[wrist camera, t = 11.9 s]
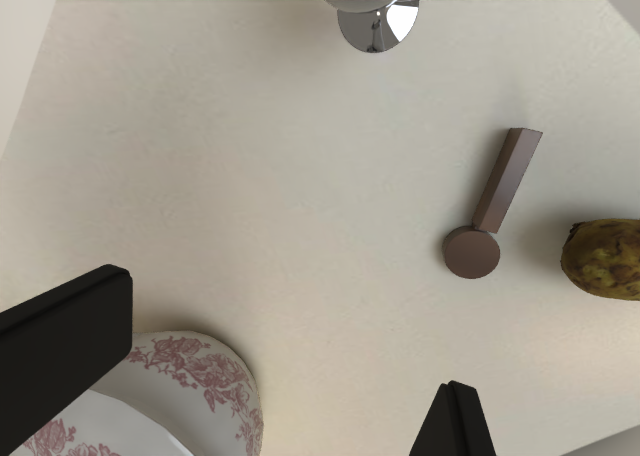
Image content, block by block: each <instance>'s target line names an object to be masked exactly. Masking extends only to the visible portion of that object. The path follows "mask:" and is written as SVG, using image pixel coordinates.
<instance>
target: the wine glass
mask: <svg viewBox="0 0 640 456" xmlns="http://www.w3.org/2000/svg"><path fill="white" fill-rule="evenodd" d="M324 1H325V2H327V3H328V4H330V5H331V6H333V7H335V8H336V9H338V20H339V25H340V28H341V31H342V33H343V35H344V37H345V38H346V39H347V41H348V42H349V43H350V44H351V45H352V46H354V47H355V48H357V49H359V50H361V51H364V52H369V53H377V52H382V51H386V50H388V49H390V48H393V47H394V46H395V45H397V44H398V43H400V42H401V41H402V40H403V39H404V38H405V37H406V35H407V34H408V33H409V31H410V30H411V28H412V26H413V24H414V22H415V19H416V17H417V12H418V8H419V0H324Z"/></svg>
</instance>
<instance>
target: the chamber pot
mask: <svg viewBox="0 0 640 456" xmlns="http://www.w3.org/2000/svg"><path fill="white" fill-rule="evenodd" d="M263 428H264V423H263V416H262V410H261V404H260V398H259V394H258V390H257V386H256V382H255V380H254V378H253V376H252V375H251V373H250V371H249V370H248V368H247V366H246V365H245V363H244V361H243V360H242V359H241V358H240V357H239V356H238V355H237V354H236V353H235V352H234V351H233V350H232V349H231V348H230V347H228V346H227V345H225V344H223V343H222V342H220V341H218V340H217V339H215V338H213V337H211V336H208V335H204V334H201V333H197V332H194V331H190V330H176V331H162V332H151V333H132V349H131V351H130V353H129V354H128V356H127V357H126V358H125V359H123V360H122V361H121V362H120V363H119V364H117V365H116V366H115V367H114V368H113V369H111V370H110V371H109V372H108V373H107V374H106V375H104V376H103V377H102V378H101V379H100V380H98V381H97V382H96V383H95V384H94V385H92V386H91V387H90V388H89V389H88V390H86V391H85V392H84V393H83V394H82V395H80V396H79V397H78V398H77V399H76V400H74V401H73V402H72V403H71V404H70V405H69V406H67V407H66V408H65V409H64V410H63V411H61V412H60V413H59V414H58V415H57V416H55V417H54V418H53V419H52V420H51V421H49V422H48V423H47V424H46V425H45V426H43V427H42V428H41V429H40V430H39V431H37V432H36V433H35V434H34V435H33V436H31V437H30V438H29V439H28V440H27V441H26V442H24V443H23V444H22V445H21V446H20V447H18V448H17V449H16V450H15V451H14V452H12V453H11V454H10V455H9V456H260V451H261V446H262V438H263Z"/></svg>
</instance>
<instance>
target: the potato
mask: <svg viewBox="0 0 640 456" xmlns="http://www.w3.org/2000/svg"><path fill="white" fill-rule="evenodd" d="M572 226H573V228H572V229H571V230H570V233H571V234H570V235H569V236H568V238H567V241H566V243H565V245H564V247H563V252H562V257H561V261H560V262H561V267H562V270H563V271H564V272H565V274H566V275H567V277H568V278H569V279H570V280H571V281H572V282H573V283H574V284H575V285H576V286H577V287H579V288H580V289H582V290H584V291H586V292H587V293H590V294H593V295H596V296H600V297H605V298H613V299H622V300H632V301H640V220H632V219H602V220H595V221H591V222H586V221H585V222H581V223H576V224H573V225H572Z"/></svg>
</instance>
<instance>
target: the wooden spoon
mask: <svg viewBox="0 0 640 456" xmlns="http://www.w3.org/2000/svg"><path fill="white" fill-rule="evenodd" d="M542 134H543V133H542V132H539V131H534V130H530V129H526V128H511V129H510V131H509V133H508V135H507V138H506V140H505V142H504V145H503V147H502V150H501V152H500V154H499V157H498V159H497V161H496V164H495V166H494V168H493V171H492V173H491V176H490V178H489V180H488V183H487V185H486V187H485V190H484V192H483V194H482V197H481V199H480V202H479V204H478V206H477V209H476V211H475V213H474V216H473V218H472V221H473V223H472V226H464V227H460V228H458V229H456V230H454V231H452V232H451V233H450V234H449V235H448V236H447V237H446V239H445V240H444V243H443V246H442V253H443V257H444V260H445V263H446V265H447V267H448V268H449V269H450V271H452V272H453V273H454V274H455V275H457V276H459V277H462V278H467V279H476V278H480V277H483V276H486V275H487V274H489V273H490V272H492V271H493V270H494V269H495V267H496V266H497V264H498V262H499V259H500V249H499V246H498V244H497V242H496V241H495V240H494V239H493V237H492V236H491V235H490V234H489V233H488V232H487V231H489V232H492V233H497V232H498V229H499V227H500V225H501V223H502V221H503V219H504V216H505V214H506V212H507V210H508V208H509V205H510V203H511V201H512V199H513V197H514V195H515V192H516V190H517V188H518V186H519V184H520V182H521V179H522V177H523V175H524V173H525V171H526V169H527V166H528V164H529V162H530V160H531V158H532V155H533V153H534V151H535V149H536V147H537V145H538V142H539V140H540V138H541V136H542Z"/></svg>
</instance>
